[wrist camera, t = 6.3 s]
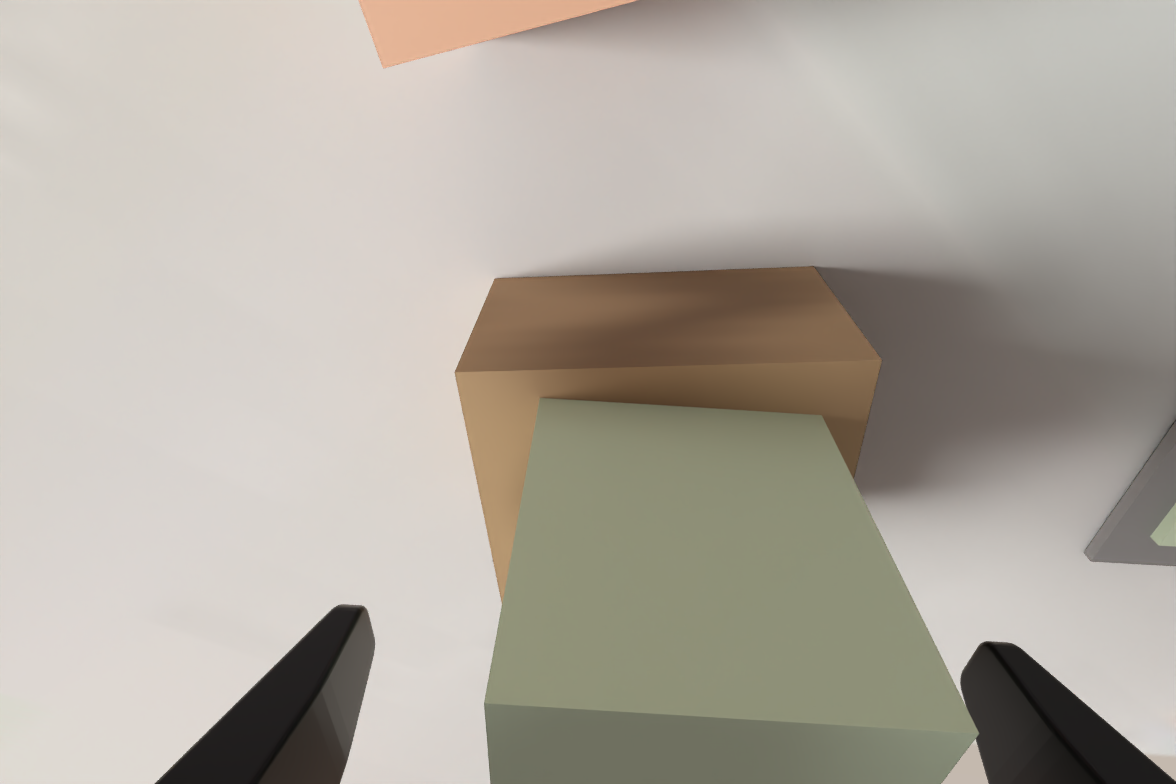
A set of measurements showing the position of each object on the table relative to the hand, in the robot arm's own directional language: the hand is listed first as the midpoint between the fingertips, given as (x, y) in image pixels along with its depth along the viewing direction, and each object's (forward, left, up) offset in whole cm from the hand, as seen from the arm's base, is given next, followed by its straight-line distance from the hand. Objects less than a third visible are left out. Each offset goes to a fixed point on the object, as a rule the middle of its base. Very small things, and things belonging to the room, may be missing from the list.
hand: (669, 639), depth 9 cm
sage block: (0, 0, -2) cm, 3 cm away
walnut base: (0, 0, -6) cm, 7 cm away
